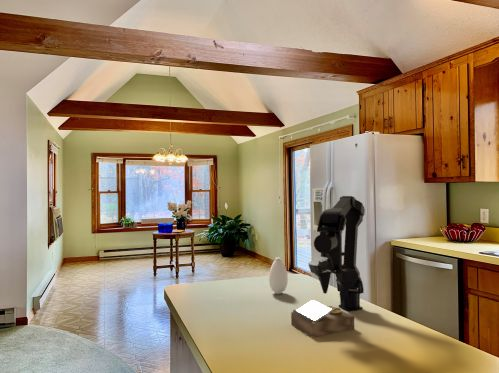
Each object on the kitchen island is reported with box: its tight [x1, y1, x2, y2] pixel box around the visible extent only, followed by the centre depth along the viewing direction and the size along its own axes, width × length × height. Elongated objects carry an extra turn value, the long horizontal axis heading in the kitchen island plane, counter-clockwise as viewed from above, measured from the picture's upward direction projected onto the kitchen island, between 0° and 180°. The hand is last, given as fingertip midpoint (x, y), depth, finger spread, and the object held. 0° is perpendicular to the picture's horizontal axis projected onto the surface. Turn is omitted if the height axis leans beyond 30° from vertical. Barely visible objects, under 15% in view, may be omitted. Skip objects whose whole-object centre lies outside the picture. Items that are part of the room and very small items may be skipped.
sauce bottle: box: [268, 252, 289, 295], centre depth 162 cm, size 8×8×18 cm
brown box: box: [290, 305, 355, 338], centre depth 122 cm, size 16×12×5 cm
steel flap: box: [295, 299, 333, 322], centre depth 121 cm, size 7×11×1 cm, turn 24°
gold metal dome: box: [329, 306, 342, 315], centre depth 124 cm, size 5×5×5 cm
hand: (333, 296), depth 124 cm, fingers open, 9 cm apart
